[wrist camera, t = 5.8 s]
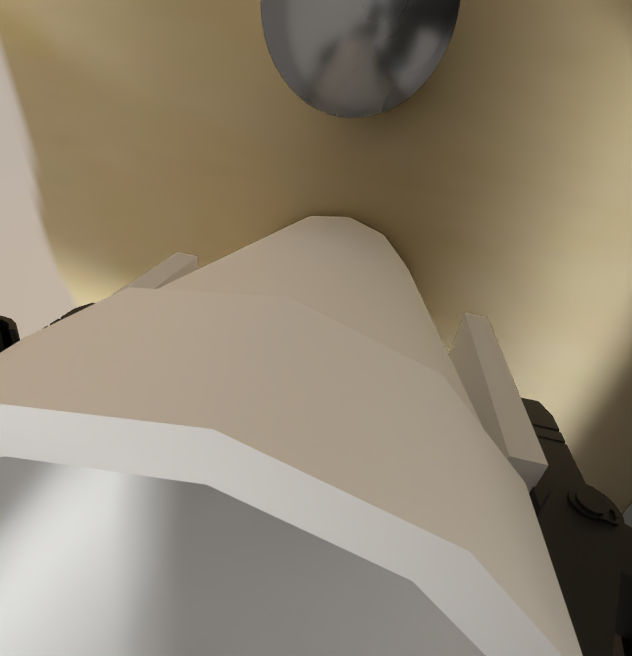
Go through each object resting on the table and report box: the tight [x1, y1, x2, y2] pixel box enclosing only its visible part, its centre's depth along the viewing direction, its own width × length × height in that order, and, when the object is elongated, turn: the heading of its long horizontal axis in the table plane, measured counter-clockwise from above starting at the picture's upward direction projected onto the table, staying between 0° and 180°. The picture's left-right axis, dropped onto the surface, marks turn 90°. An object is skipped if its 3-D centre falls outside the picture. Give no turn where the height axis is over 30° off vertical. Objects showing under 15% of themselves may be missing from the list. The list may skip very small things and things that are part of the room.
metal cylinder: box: [261, 0, 460, 118], centre depth 11 cm, size 4×4×5 cm
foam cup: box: [0, 216, 583, 656], centre depth 11 cm, size 10×9×13 cm
